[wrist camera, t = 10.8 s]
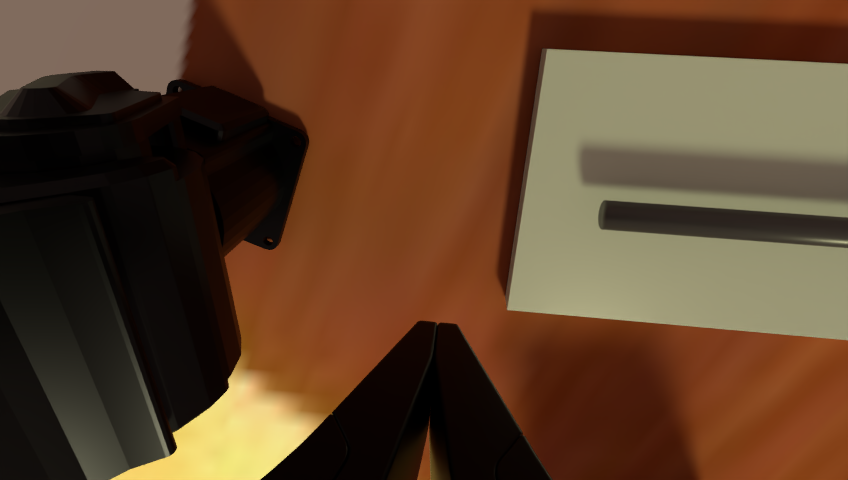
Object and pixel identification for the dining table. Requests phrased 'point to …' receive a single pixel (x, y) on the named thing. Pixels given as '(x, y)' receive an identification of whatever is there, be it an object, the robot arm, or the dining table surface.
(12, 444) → the robot arm
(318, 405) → the dining table surface
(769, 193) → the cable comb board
